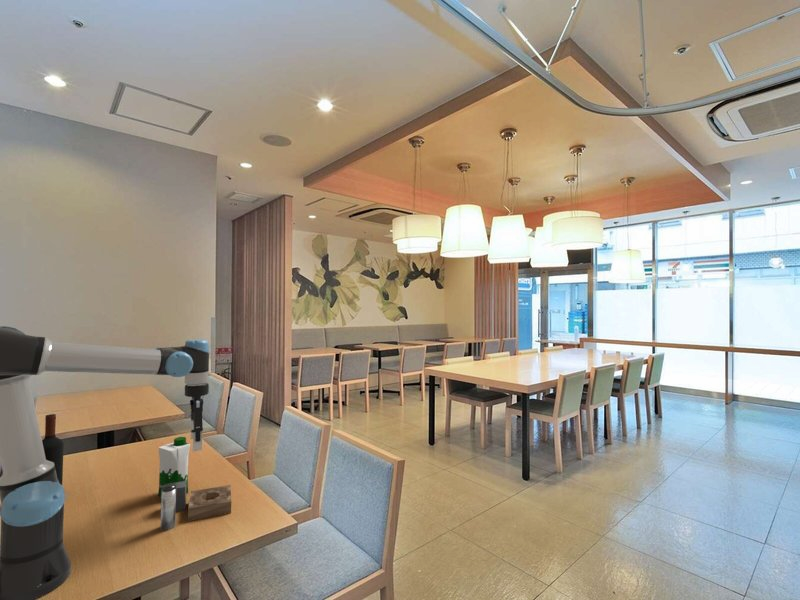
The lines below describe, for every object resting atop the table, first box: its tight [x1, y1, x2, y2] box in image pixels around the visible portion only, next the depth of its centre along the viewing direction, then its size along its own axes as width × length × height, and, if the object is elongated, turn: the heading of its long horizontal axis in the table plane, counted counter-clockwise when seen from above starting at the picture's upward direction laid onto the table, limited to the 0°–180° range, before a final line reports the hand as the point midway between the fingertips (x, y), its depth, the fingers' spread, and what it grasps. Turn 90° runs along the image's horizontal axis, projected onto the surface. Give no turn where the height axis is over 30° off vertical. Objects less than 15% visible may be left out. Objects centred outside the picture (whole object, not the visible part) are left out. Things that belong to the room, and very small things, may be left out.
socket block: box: [187, 484, 232, 522], centre depth 137 cm, size 13×13×4 cm
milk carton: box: [157, 436, 192, 498], centre depth 146 cm, size 9×9×20 cm
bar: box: [175, 481, 187, 512], centre depth 136 cm, size 5×5×8 cm
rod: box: [160, 483, 176, 531], centre depth 125 cm, size 4×4×13 cm
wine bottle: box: [42, 413, 65, 486], centre depth 141 cm, size 8×8×30 cm
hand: (196, 444), depth 138 cm, fingers open, 13 cm apart
